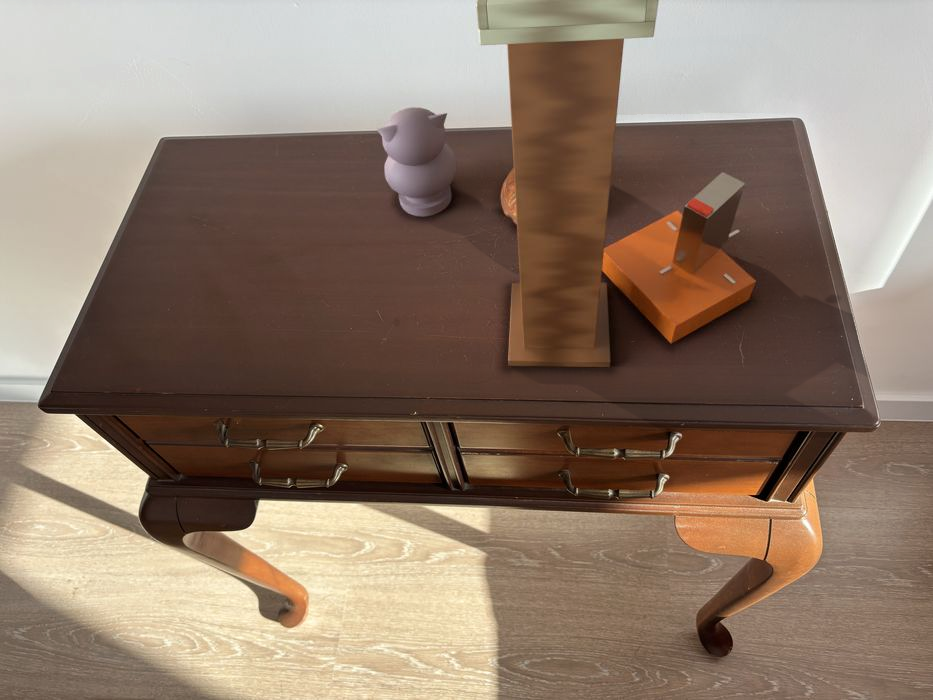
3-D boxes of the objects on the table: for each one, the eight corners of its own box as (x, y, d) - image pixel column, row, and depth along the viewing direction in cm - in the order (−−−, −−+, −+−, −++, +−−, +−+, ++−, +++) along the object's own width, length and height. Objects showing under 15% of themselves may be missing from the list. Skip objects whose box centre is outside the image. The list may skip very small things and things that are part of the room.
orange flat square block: (772, 286, 72) (780, 266, 69) (670, 343, 69) (675, 325, 67) (695, 218, 78) (700, 197, 76) (599, 268, 76) (601, 248, 73)
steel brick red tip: (706, 229, 73) (722, 169, 66) (727, 241, 72) (745, 181, 65) (671, 262, 71) (684, 203, 64) (692, 274, 70) (707, 216, 63)
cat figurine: (451, 167, 87) (439, 84, 77) (468, 209, 83) (457, 126, 73) (385, 185, 86) (364, 103, 77) (399, 228, 82) (379, 147, 72)
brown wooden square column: (606, 288, 74) (646, -93, 43) (609, 367, 68) (659, -5, 38) (512, 288, 75) (486, -82, 44) (508, 366, 70) (475, 4, 39)
